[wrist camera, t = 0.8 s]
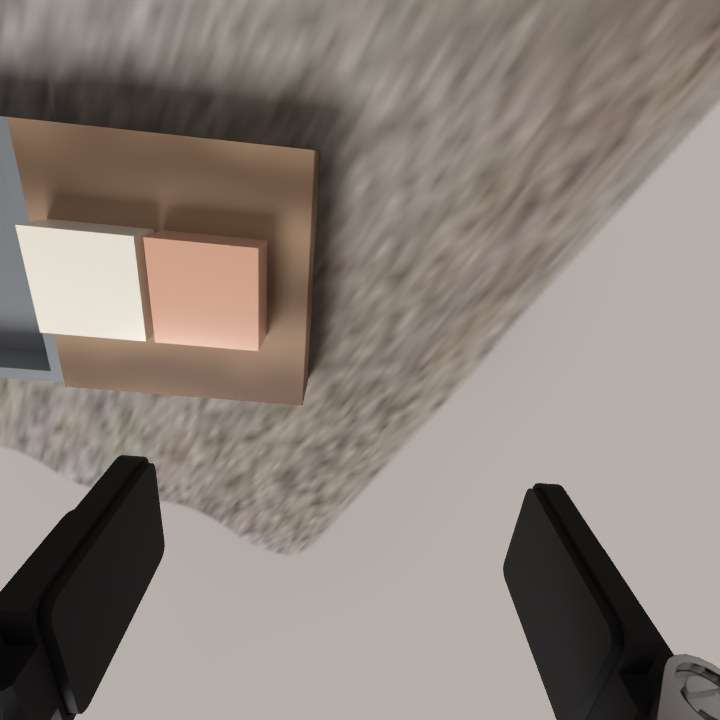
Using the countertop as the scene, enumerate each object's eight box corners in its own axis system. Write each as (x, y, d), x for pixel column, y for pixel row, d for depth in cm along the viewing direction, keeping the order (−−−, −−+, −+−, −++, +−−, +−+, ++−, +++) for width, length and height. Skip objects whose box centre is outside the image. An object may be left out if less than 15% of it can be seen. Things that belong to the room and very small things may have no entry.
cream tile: (46, 218, 24) (15, 224, 22) (153, 229, 25) (133, 236, 22) (66, 318, 27) (40, 332, 25) (163, 326, 27) (146, 341, 25)
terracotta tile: (162, 230, 25) (143, 236, 22) (267, 240, 25) (258, 248, 23) (171, 327, 27) (154, 342, 25) (266, 335, 28) (258, 351, 25)
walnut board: (55, 123, 26) (6, 116, 22) (320, 151, 27) (314, 150, 23) (97, 361, 33) (65, 386, 29) (308, 378, 33) (302, 405, 30)
